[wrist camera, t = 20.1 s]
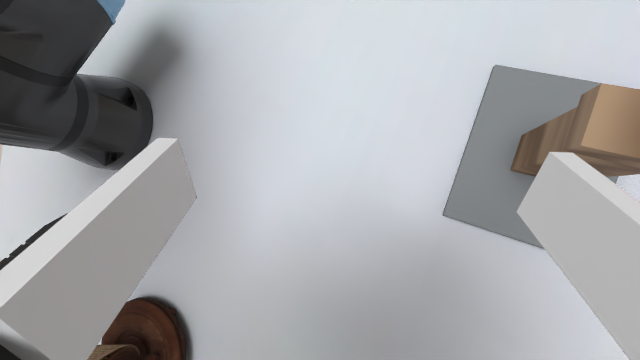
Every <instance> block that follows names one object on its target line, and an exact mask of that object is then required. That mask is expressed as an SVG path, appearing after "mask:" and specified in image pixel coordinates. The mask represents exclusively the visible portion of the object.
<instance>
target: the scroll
mask: <svg viewBox="0 0 640 360" xmlns="http://www.w3.org/2000/svg"><path fill="white" fill-rule="evenodd" d="M175 312H176V309H168V308H167V307H166V306H164V305H163V304H162V303H160V302H158V301H156V300H154V299H150V298H136V299H133V300H131V301H128V302H126V303H125V304H124V306H123V307H122V309H121V310H120V312H119V313H118V315H117V316H116V318H115V319H114V321H113V322H112V324H111V325H110V327H109V328H108V330H107V331H106V333H105V334H104V336H103V337H102V344H101V345H97V346H96V347H95V349H94V350H93V352H92V353H91V355H90V356H89V358H88V359H87V360H186V347H185V341H184V336H183V333H182V330H181V327H180V325H179V323H178V321H177V320H176V318H175V316H174V314H175Z"/></svg>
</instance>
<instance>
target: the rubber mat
mask: <svg viewBox="0 0 640 360" xmlns="http://www.w3.org/2000/svg"><path fill="white" fill-rule="evenodd" d="M600 84H601V83H597V82H591V81H586V80H580V79H574V78H568V77H563V76H557V75H551V74H546V73H540V72H534V71H528V70H523V69H517V68H511V67H506V66H500V65H495V66H494V67H493V69H492V72H491V75H490V78H489V81H488V84H487V87H486V90H485V93H484V96H483V98H482V101H481V104H480V107H479V110H478V113H477V116H476V119H475V122H474V125H473V128H472V130H471V133H470V136H469V139H468V142H467V145H466V148H465V151H464V154H463V157H462V160H461V163H460V165H459V168H458V171H457V174H456V177H455V180H454V183H453V186H452V189H451V192H450V195H449V197H448V200H447V203H446V206H445V209H444V212H443V215H444V216H447V217H451V218H454V219H457V220H460V221H463V222H466V223H469V224H472V225H475V226H478V227H481V228H484V229H487V230H490V231H493V232H496V233H499V234H502V235H505V236H508V237H511V238H514V239H517V240H520V241H523V242H526V243H529V244H532V245H535V246H538V247H541V248H544V247H543V246H542V245H541V243H540V242H539V241H538V239H537V238H536V237H535V236H534V234H533V233H532V232H531V230H530V229H529V228H528V226H527V225H526V224H525V222H524V221H523V220H522V219H521V217H520V216H519V215H518V213H517V210H518V208H519V206H520V205H521V203H522V201H523V199H524V197H525V195H526V194H527V192H528V190H529V188H530V186H531V185H532V183H533V181H534V179H535V176H531V175H527V174H523V173H519V172H515V171H511V170H510V169H511V166H512V163H513V160H514V157H515V154H516V151H517V148H518V145H519V142H520V139H521V136H522V135H523V134H525V133H527V132H529V131H531V130H533V129H535V128H537V127H539V126H541V125H542V124H544V123H546V122H548V121H550V120H552V119H554V118H556V117H558V116H560V115H562V114H564V113H566V112H568V111H570V110H572V109H574V108H576V107H577V106H578V104H579V101H580V98H581V95H582V94H584V93H586V92H587V91H589V90H591V89H593V88H594V87H596V86H598V85H600ZM602 84H603V83H602ZM607 178H608V179H609V180H611V181H612V182H614V183H615V184H616V181H617V179H618V176H613V177H607Z"/></svg>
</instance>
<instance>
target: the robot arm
mask: <svg viewBox="0 0 640 360" xmlns="http://www.w3.org/2000/svg"><path fill="white" fill-rule="evenodd" d="M124 3H125V0H0V144H2V145H10V146H18V147H26V148H34V149H42V150H49V151H56V152H60V153H62V154H65V155H67V156H69V157H72V158H74V159H76V160H79V161H81V162H84V163H86V164H88V165H91V166H93V167H97V168H104V169H120V170H119V171H118V172H117V173H115V174H114V175H113V176H112V177H111V178H109V179H108V180H107V181H106V182H105V183H104V184H102V185H101V186H100V187H99V188H98V189H96V190H95V191H94V192H93V193H92V194H91V195H89V196H88V197H87V198H86V199H85V200H83V201H82V202H81V203H80V204H79V205H77V206H76V207H75V208H74V209H73V210H72V211H70V212H69V213H68V214H65V215H63V216H62V217H60V218H58V219H56V220H54V221H52V222H51V223H49V224H47V225H45V226H44V227H42V228H41V229H40V230H39V231H38V232H36V233H35V234H34V235H33V236H31V237H30V238H29V239H28V240H27V241H25V242H26V243H25V245H20V246H19V247H18V248H17V249H16V250H14V251H13V252H12V253H11V254H9V255H10V257H9V258H5V259H3V260H2V261H1V262H0V360H87V359H88V358H89V356H90V355H91V353H92V352H93V350H94V349H95V347H96V346H97V344H98V343H99V341H100V340H101V338H102V337H103V336H104V334H105V333H106V331H107V330H108V328H109V327H110V325H111V324H112V322H113V321H114V319H115V318H116V316H117V315H118V313H119V312H120V310H121V309H122V307H123V306H124V304H125V303H126V301H127V300H128V298H129V297H130V296H131V294H132V293H133V291H134V290H135V288H136V287H137V285H138V284H139V282H140V281H141V279H142V278H143V276H144V275H145V273H146V272H147V270H148V269H149V267H150V266H151V264H152V263H153V261H154V260H155V258H156V257H157V256H158V254H159V253H160V251H161V250H162V248H163V247H164V245H165V244H166V242H167V241H168V239H169V238H170V236H171V235H172V233H173V232H174V230H175V229H176V227H177V226H178V224H179V223H180V221H181V220H182V218H183V217H184V216H185V214H186V213H187V211H188V210H189V208H190V207H191V205H192V204H193V202H194V201H195V199H196V198H197V196H196V193H195V190H194V187H193V184H192V181H191V177H190V174H189V171H188V168H187V165H186V162H185V159H184V155H183V152H182V149H181V146H180V143H179V140H178V138H157V139H156V140H155V141H153V142H152V143H151V144H150V145H149V146H147V147H146V145H147V143H148V141H149V138H150V134H151V129H152V111H151V107H150V103H149V101H148V99H147V97H146V95H145V94H144V92H143V91H142V90H141V89H140V88H139V87H137V86H136V85H134V84H131V83H129V82H127V81H124V80H122V79H119V78H114V77H104V76H94V75H84V74H76V73H77V72H78V71H79V69H80V68H81V67H82V65H83V64H84V63H85V61H86V60H87V59H88V57H89V56H90V54H91V53H92V52H93V50H94V49H95V48H96V46H97V45H98V44H99V42H100V41H101V40H102V38H103V37H104V36H105V34H106V33H107V32H108V30H109V29H110V27H111V26H112V25H114V24H115V22H116V20H115V19H116V17H117V15H118V13H119V12H120V10H121V8H122V7H123V5H124ZM145 147H146V148H145ZM517 213H518V215H519V216H520V217H521V219H522V220H523V221H524V222H525V224H526V225H527V226H528V228H529V229H530V230H531V232H532V233H533V234H534V236H535V237H536V238H537V239H538V241H539V242H540V243H541V245H542V246H543V247H544V249H545V250H546V251H547V253H548V254H549V255H550V256H551V258H552V259H553V260H554V262H555V263H556V264H557V266H558V267H559V268H560V269H561V271H562V272H563V273H564V275H565V276H566V277H567V279H568V280H569V281H570V283H571V284H572V285H573V286H574V288H575V289H576V290H577V292H578V293H579V294H580V296H581V297H582V298H583V300H584V301H585V302H586V303H587V305H588V306H589V307H590V309H591V310H592V311H593V313H594V314H595V315H596V317H597V318H598V319H599V320H600V322H601V323H602V324H603V326H604V327H605V328H606V330H607V331H608V332H609V333H610V335H611V336H612V337H613V339H614V340H615V341H616V343H617V344H618V345H619V347H620V348H621V349H622V350H623V352H624V353H625V354H626V356H627V357H628V358H629V360H640V202H639V201H638V200H637V199H635V198H634V197H633V196H631V195H630V194H629V193H627V192H626V191H624V190H623V189H622V188H620V187H619V186H618V185H616V184H615V183H614V182H612V181H611V180H609V179H608V178H607V177H605V176H604V175H603V174H601V173H600V172H598V171H597V170H596V169H594V168H593V167H592V166H590V165H589V164H588V163H586V162H585V161H583V160H582V159H581V158H579V157H578V156H577V155H575V154H574V153H569V152H549V154H548V156H547V157H546V159H545V161H544V163H543V165H542V166H541V168H540V170H539V172H538V174H537V176H536V177H535V179H534V181H533V183H532V185H531V186H530V188H529V190H528V192H527V194H526V195H525V197H524V199H523V201H522V203H521V205H520V206H519V208H518V210H517Z"/></svg>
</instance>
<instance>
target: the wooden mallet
mask: <svg viewBox="0 0 640 360" xmlns="http://www.w3.org/2000/svg"><path fill="white" fill-rule="evenodd" d="M549 152H569V153H574V154H575V155H577V156H578V157H579V158H581V159H582V160H583V161H585V162H586V163H588V164H589V165H590V166H592V167H593V168H594V169H596V170H597V171H598V172H600V173H601V174H603V175H604V176H605V177H613V176H624V175H634V174H640V90H639V89H633V88H627V87H621V86H615V85H608V84H602V83H601V84H600V85H598V86H596V87H594V88H593V89H591V90H589V91H587V92H586V93H584V94H582V95H581V98H580V101H579V104H578V106H577V107H576V108H574V109H572V110H570V111H568V112H566V113H564V114H562V115H560V116H558V117H556V118H554V119H552V120H550V121H548V122H546V123H544V124H542V125H541V126H539V127H537V128H535V129H533V130H531V131H529V132H527V133H525V134H523V135H522V136H521V139H520V142H519V145H518V148H517V151H516V154H515V157H514V160H513V163H512V166H511V169H510V170H511V171H515V172H519V173H523V174H527V175H531V176H535V177H536V176H537V174H538V172H539V170H540V168H541V166H542V165H543V163H544V161H545V159H546V157H547V156H548V154H549Z"/></svg>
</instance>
